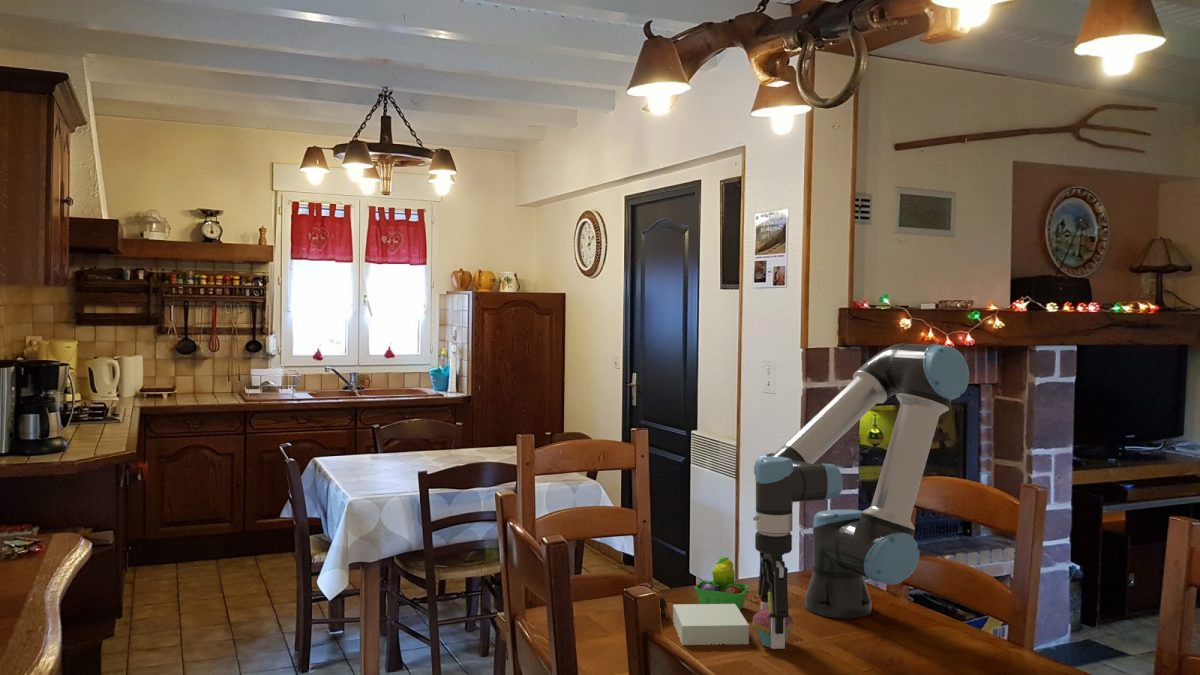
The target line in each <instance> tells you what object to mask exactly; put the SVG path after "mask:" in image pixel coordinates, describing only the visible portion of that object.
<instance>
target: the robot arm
mask: <svg viewBox="0 0 1200 675" xmlns="http://www.w3.org/2000/svg"><path fill="white" fill-rule="evenodd" d="M969 381H970V370H969V365H968V363H967V362H966V359H965V357H964V355H963V354H962V352H960V351H959V350H958V349H957V348H955V347H952V346H948V345H942V344H938V343H934V344H922V343H921V344H920V343H919V344H918V343H909V342H907V343H906V342H904V343H903V342H902V343H897V344H893V345H891V346H888V347H886V348H884V349H883V350H881V351H879V352H878V353H877V354H875V355H874V356H872V357H871V358H869V360H867V361H866V362H865V363H864V364H863V365H861V366H860V367H859V368H858V369H857V370H856V371H855V372H854V373H853V375H852V380H851V381H850V382H849V383H848V385H846V386H845V387H844V388H843V389H842V390H841V391H840V392H839V393H838V394H837V395H836V396H834V398H832V400H831V401H829V402H828V403H827V404H826V405H825V406H824V407H823V408H822V409H821V410H819V412H818V413H817V414H815V415H814V416H813V417H812V418H811V419H810V420H809V421H808V422H807V423H806V424H805V425H804V426H802V428H800V430H798V431H797V433H795V434H794V435H793V436H792V437H790V439H789V440H787V442H786V443H784V445H783V446H781V447H780V448H779V449H778V450H777V451H776V452H775V453H773V452H769V453H768V452H767V453H764V454H761V455H760V456H758V458H757V459H756V461H755V463H754V467H753V472H754V473H753V474H754V476H755V477H754V478H755V480H754V481H755V515H753V517H752V520H753V521H755V530H757V531H756V532H755V535H754V538H755V539H754V540H755V541H754V543H755V544H754V549H755V550H756V551H757V552H759V572H758V573H759V576H758V577H759V578H758V579H759V580H758V592H757V594H758V596H759V599H760V611H761V610H765V609H768V608H769V606H768V592H769V590H770V592H771V602H772V612H773V613H772V614H770V615H769V617H770V618H771V648H770V649H772V650H773V649H774V650H778V649H786V646H785V645H786V641H785V617H788V615H789V616H790V614H789V599H788V572H789V568H788V567H787V566H786V563H785V561H784V560H783V559H784V558H783V556H784V555H786V554H789V553H791V552H792V550H793V535H792V533H791V532H792V531H793V505H794V503H797V502H798V503H800V502H809V501H810V502H812V501H826V500H831V499H835V498H837V497H839V496H840V494H842V490H843V487H844V485H843V481H844V480H843V479H844V478H843V474H842V473H841V470H840V469H839V468H838V467H837V465H835V464H832V463H823V462H822V463H817V464H815V462H817V461H818V460H819V459H821V457H822V456H823V455H824V454H826V452H827V451H828V450H829V449H830V448H831V447H833V445H834V444H835V443H836V442H838V441H839V440H840V438H842V437H843V436H844V435H845V434H847V432H848V431H849V430H851V428H852V427H853V426H854V425H855V424H856V423H857V422H859V421H860V420H862V418H863V417H864V416H865V415H866V414H868V412H869V411H870V410H871V409H872V408H874V406H875V405H877V404H884V403H885V402H886V401H887V400H889V398H890V397H892V396H894V395H895V398H896V399H897V400H898V402H899V409H898V412H897V416H896V419H895V423H894V425H893V429H892V433H891V436H890V439H889V443H888V446H887V450H886V454H885V456H884V457H885V458H884V460H883V464H882V466H881V470H880V473H879V474H880V475H879V477H878V481H877V484H876V488H875V492H874V494H873V498H872V501H871V505H870V506H869V507H868V508H866V509H864V510H859V509H828V510H827V509H826V510H821V511H818V512H816V513H815V515H814V516H813V524H812V574H811V579H810V581H809V584H808V587H807V589H806V592H805V595H804V607H805V609H807V611H809V612H811V613H812V614H816V615H819V616H823V617H826V618H827V617H828V618H832V619H833V618H835V619H859V618H864V617H867V616H869V615H870V614H872V599H871V596H870V593H869V590H868V586H867V583H866V578H868V579H869V580H871V581H872V582H876V583H880V584H884V585H898V584H900V583H903V581H905V580H907V579H909V577H910V576H911V575H913V573H914V572H915V570H916V568H917V566H918V563H919V560H920V549H919V548H918V547H919V544H918V542H917V541H916V539H915V538H914V533H915V529H916V528H915V525H914V524H913V523H912V520H911V517H912V513H913V511H914V507H915V503H916V500H917V496H918V493H919V490H920V485H921V481H922V478H923V475H924V471H925V468H926V464H927V460H928V457H929V454H930V450H931V447H932V442H933V441H934V440H933V439H934V435H935V433H936V428H937V426H938V422H939V419H940V417H941V415H943V414H944V413H946V412H948V411H949V409H950V406H951V403H952V400H956V399H957V398H959V397H961V395H963V394H964V393H966V390H967V388H968V385H969V384H970V382H969ZM865 577H866V578H865Z"/></svg>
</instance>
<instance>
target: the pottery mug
mask: <svg viewBox="0 0 1200 675" xmlns="http://www.w3.org/2000/svg"><path fill="white" fill-rule="evenodd" d="M636 586H645V587H651V588H652V589H653V590H655V591H657V592H660V591H659V590H658V589H657V588H655V587H654V586H653V584H652V583H651V582H644V583H639V584H637V585H636ZM660 608H661V611H660V612H663V613H664V615H665V616H664V617H665V619H668V618H669V617H670V616H669V610H668V605H667V601H666V600H665V598H664V595H663V594H662V592H660Z"/></svg>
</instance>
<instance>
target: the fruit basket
mask: <svg viewBox="0 0 1200 675" xmlns="http://www.w3.org/2000/svg"><path fill="white" fill-rule="evenodd" d="M729 558H730V557H727V556H726V557H725V556H721V557H720V558H719V559H718V561H717V562H716V565H715V566H714V567H713V568H712V571H711V572H712V578H713V580H707V579H705V580H702V581H701V582H698V584H697V585H696V586H695V587H694V590H695V593H696V596H697V599H698V600H697V601H698V604H736V606H737V607H738V609H739V610H740V611H741V609H743V607H744V603H745V601H746V596H747V591H748V589H749V585H747V584H741V583H736V582H735V578H736V573H735V569H734V563H733V562H732V560H730V559H729Z"/></svg>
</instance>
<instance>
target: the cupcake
mask: <svg viewBox="0 0 1200 675" xmlns="http://www.w3.org/2000/svg"><path fill="white" fill-rule="evenodd" d="M768 606H769V608H768V609H765V610H761V609H760V610H759V611H757V612H756V613H755V614H754V615H753V617H752V626H753V628H754V629H755V630H756V631H757V634H758V637H759V639H760V644H761V645H762V646H765V647H767V648H770V649H772V648H771V618H770V617H769V615H770V614H772V613H773V612H772V601H771V592H770V590H769V592H768ZM793 629H794V619H793V618H792V617H791V615H790V614H789V615H788V617H785V642H786V640H787V638H788V636H789V634H790V632H791V631H792V630H793Z"/></svg>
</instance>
